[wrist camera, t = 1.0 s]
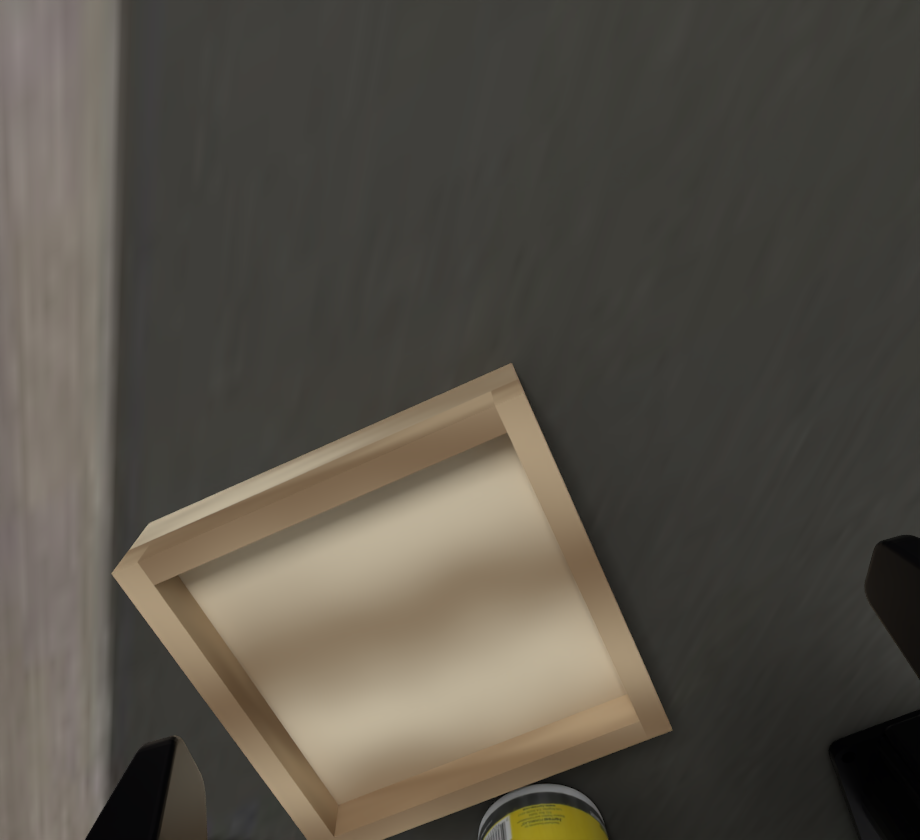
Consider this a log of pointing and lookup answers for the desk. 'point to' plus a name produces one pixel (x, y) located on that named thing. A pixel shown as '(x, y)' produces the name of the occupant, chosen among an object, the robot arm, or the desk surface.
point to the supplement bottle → (543, 815)
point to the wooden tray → (400, 618)
